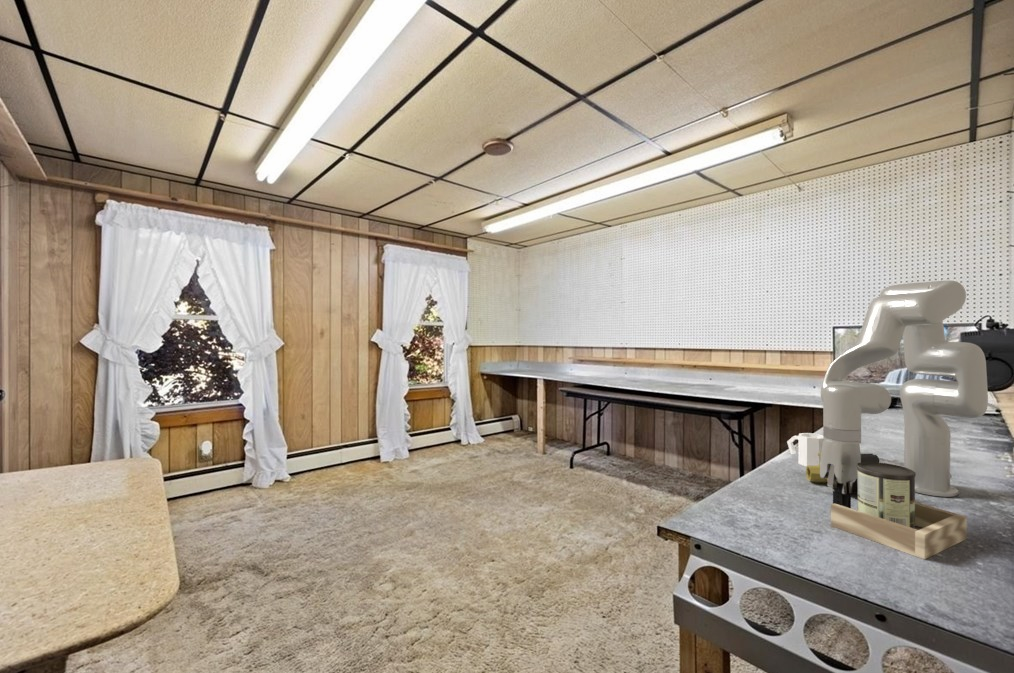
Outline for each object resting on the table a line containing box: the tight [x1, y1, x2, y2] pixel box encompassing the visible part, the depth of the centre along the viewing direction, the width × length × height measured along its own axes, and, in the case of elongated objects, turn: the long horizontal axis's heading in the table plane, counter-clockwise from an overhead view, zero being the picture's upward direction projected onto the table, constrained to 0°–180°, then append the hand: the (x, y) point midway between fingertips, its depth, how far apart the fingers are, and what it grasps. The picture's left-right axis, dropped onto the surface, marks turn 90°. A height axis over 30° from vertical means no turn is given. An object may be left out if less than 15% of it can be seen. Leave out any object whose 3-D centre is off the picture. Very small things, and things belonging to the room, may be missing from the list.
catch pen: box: [830, 501, 968, 560], centre depth 99 cm, size 19×17×5 cm
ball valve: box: [805, 453, 828, 483], centre depth 130 cm, size 13×10×10 cm
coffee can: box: [857, 462, 916, 529], centre depth 101 cm, size 10×10×14 cm
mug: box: [786, 432, 825, 467], centre depth 150 cm, size 12×9×10 cm
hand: (841, 507), depth 109 cm, fingers closed
